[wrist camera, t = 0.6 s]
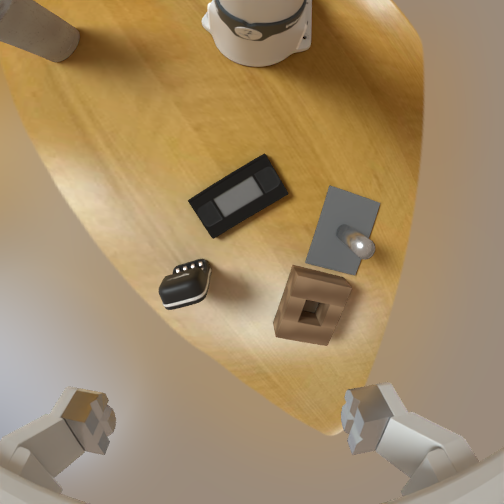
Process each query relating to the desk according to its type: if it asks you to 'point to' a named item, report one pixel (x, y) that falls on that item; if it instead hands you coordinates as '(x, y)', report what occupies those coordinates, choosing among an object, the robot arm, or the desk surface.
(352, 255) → the mat
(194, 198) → the vhs tape
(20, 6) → the thermos bottle
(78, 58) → the desk surface
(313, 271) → the hole block
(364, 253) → the peg
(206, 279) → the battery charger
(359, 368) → the desk surface
